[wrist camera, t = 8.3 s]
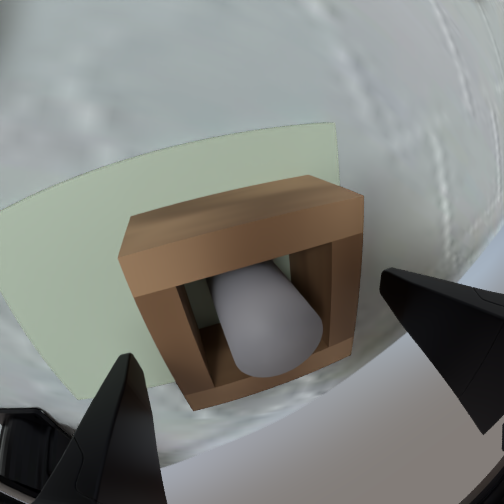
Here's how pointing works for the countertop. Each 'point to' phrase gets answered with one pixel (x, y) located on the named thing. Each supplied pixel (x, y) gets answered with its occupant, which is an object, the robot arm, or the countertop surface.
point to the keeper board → (111, 275)
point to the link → (238, 256)
